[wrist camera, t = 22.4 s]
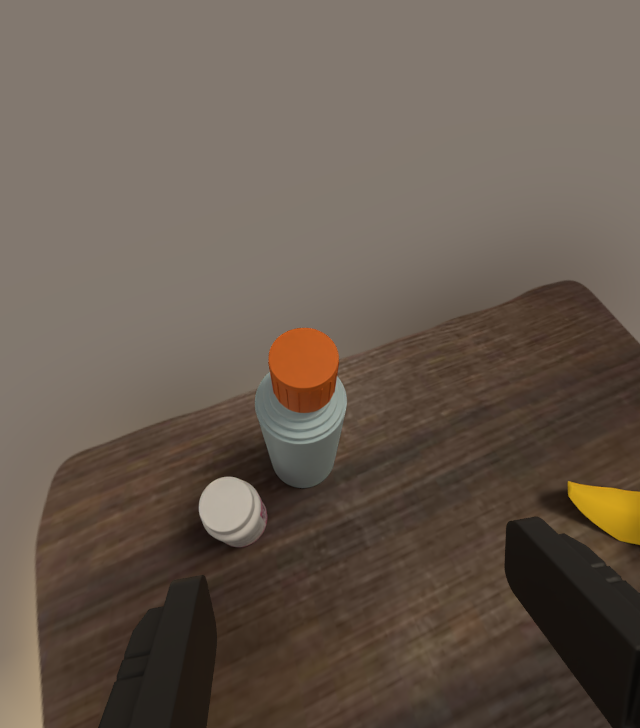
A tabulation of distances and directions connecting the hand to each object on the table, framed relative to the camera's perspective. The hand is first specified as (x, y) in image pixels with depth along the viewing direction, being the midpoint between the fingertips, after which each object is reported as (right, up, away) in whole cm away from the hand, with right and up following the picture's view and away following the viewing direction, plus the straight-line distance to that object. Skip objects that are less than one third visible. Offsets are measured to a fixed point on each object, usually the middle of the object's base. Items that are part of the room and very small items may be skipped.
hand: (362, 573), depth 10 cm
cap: (-2, +4, +15) cm, 16 cm away
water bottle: (-3, -4, +29) cm, 29 cm away
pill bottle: (-8, -9, +26) cm, 29 cm away
